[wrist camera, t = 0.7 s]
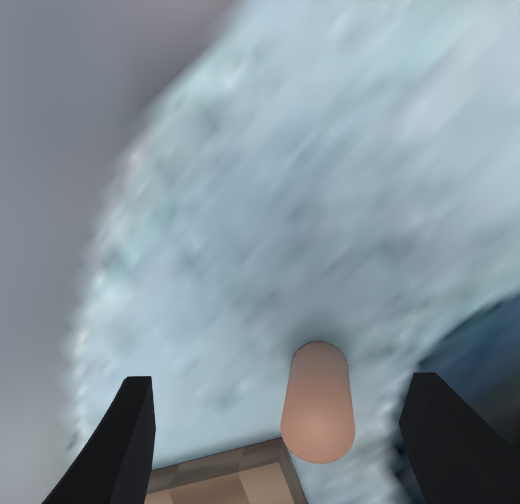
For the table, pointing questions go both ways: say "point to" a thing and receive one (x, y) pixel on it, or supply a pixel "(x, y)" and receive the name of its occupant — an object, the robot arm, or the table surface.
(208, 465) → the socket block
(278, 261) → the table surface
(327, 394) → the peg
